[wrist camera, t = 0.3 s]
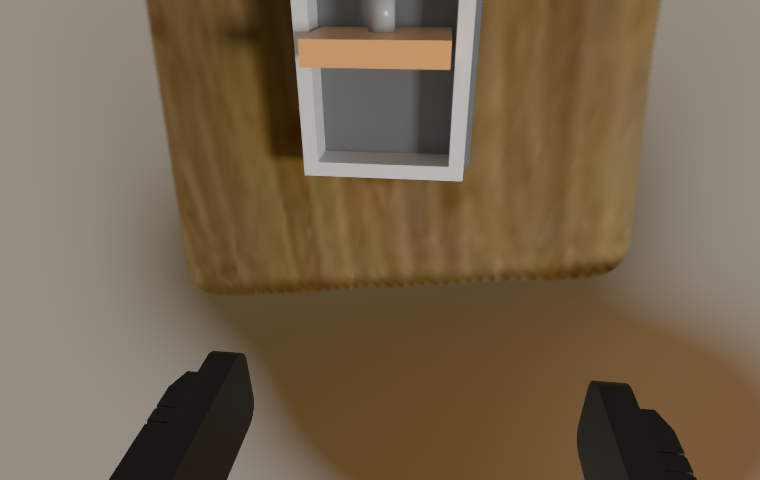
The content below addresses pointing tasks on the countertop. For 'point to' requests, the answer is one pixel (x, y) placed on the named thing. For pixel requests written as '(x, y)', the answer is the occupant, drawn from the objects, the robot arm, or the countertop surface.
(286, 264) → the countertop surface
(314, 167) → the white walled tray
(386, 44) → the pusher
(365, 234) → the countertop surface
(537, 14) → the countertop surface
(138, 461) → the robot arm
